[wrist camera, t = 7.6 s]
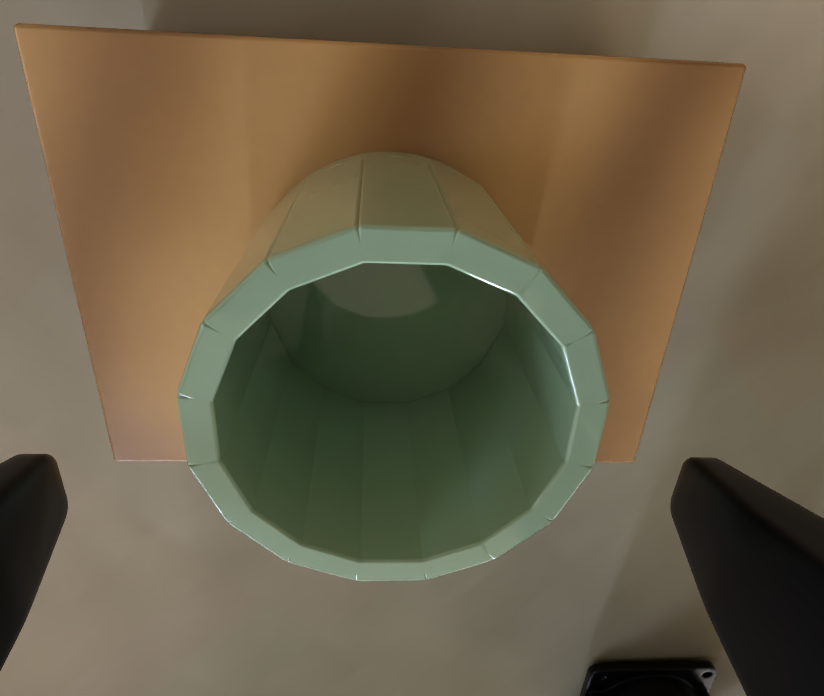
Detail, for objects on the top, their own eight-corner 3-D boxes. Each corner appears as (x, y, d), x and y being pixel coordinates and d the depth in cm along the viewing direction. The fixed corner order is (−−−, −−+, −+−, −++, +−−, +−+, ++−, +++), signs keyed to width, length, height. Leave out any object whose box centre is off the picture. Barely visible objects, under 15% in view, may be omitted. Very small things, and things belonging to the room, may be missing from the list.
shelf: (638, 57, 16) (749, 64, 12) (574, 366, 21) (635, 463, 16) (124, 27, 15) (10, 22, 11) (176, 360, 20) (113, 462, 15)
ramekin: (542, 157, 12) (653, 234, 7) (504, 406, 15) (567, 579, 10) (240, 144, 12) (146, 217, 7) (261, 403, 15) (204, 583, 10)
